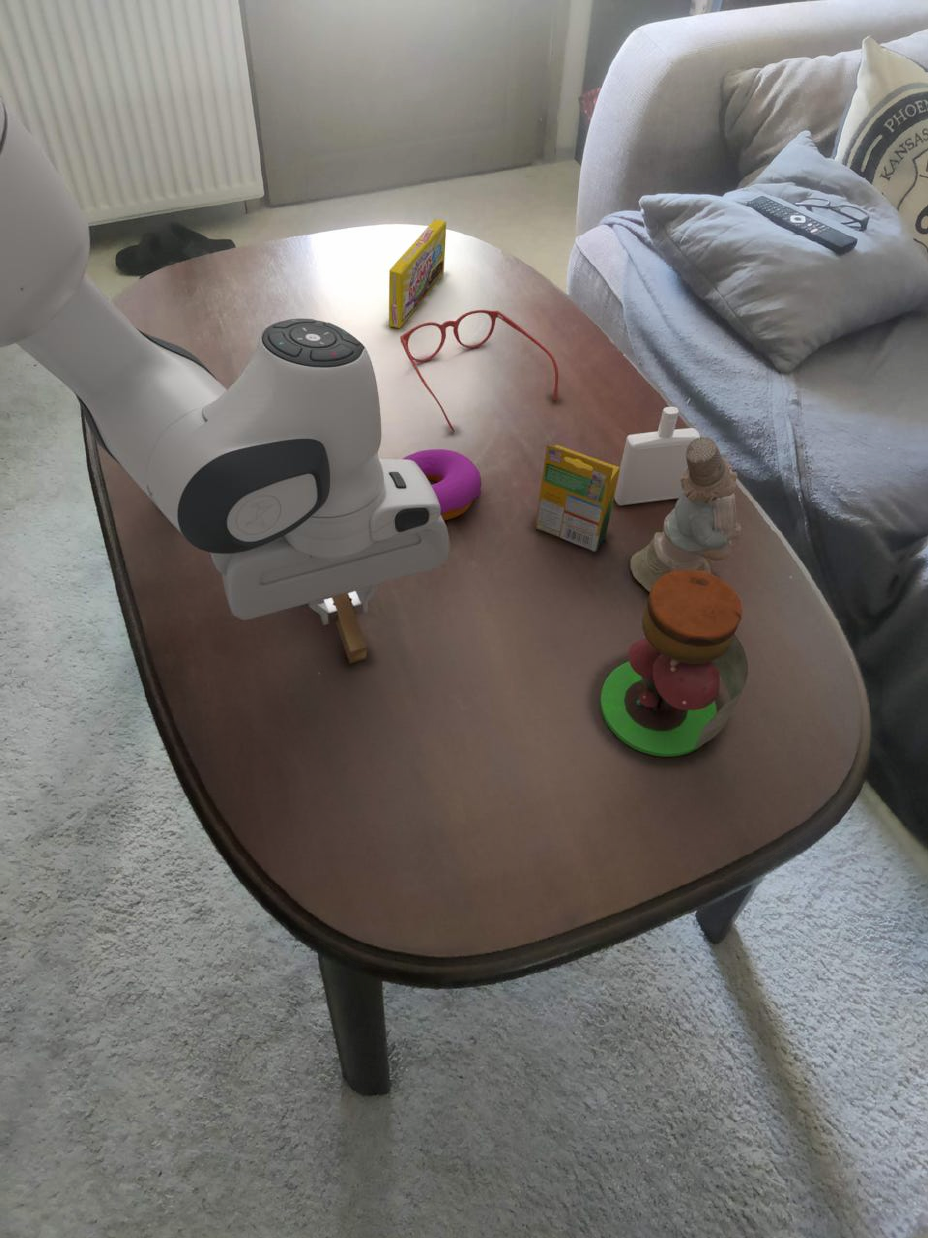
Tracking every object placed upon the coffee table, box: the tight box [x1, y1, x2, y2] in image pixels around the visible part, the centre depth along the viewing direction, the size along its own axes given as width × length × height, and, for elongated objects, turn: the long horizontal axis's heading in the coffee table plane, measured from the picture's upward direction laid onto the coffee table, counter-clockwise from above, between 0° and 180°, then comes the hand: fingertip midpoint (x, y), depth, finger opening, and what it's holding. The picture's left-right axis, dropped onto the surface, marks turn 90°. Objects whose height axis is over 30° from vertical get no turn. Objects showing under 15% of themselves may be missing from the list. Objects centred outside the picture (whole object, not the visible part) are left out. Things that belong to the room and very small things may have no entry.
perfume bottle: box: [614, 406, 701, 506], centre depth 94 cm, size 8×2×12 cm, turn 102°
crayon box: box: [535, 444, 620, 553], centre depth 90 cm, size 7×3×12 cm, turn 61°
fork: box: [326, 592, 368, 665], centre depth 84 cm, size 4×18×3 cm, turn 22°
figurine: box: [630, 436, 742, 593], centre depth 83 cm, size 9×8×20 cm
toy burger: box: [599, 569, 749, 758], centre depth 74 cm, size 12×13×15 cm
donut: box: [402, 448, 482, 521], centre depth 95 cm, size 10×10×5 cm
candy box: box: [388, 218, 447, 329], centre depth 120 cm, size 16×2×8 cm, turn 159°
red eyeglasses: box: [399, 309, 559, 433], centre depth 110 cm, size 17×16×5 cm
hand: (344, 614), depth 82 cm, fingers closed on fork
